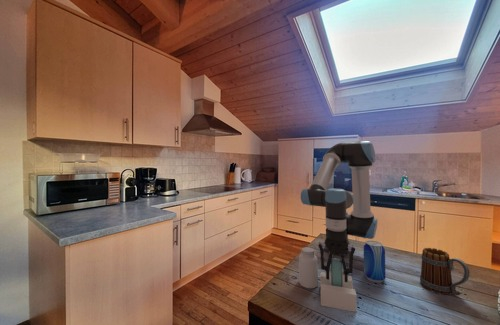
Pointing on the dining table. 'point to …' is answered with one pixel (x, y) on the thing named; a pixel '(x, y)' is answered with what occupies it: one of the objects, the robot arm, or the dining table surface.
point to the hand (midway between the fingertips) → (336, 288)
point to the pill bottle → (308, 268)
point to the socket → (338, 294)
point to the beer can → (374, 261)
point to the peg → (336, 272)
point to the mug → (440, 271)
